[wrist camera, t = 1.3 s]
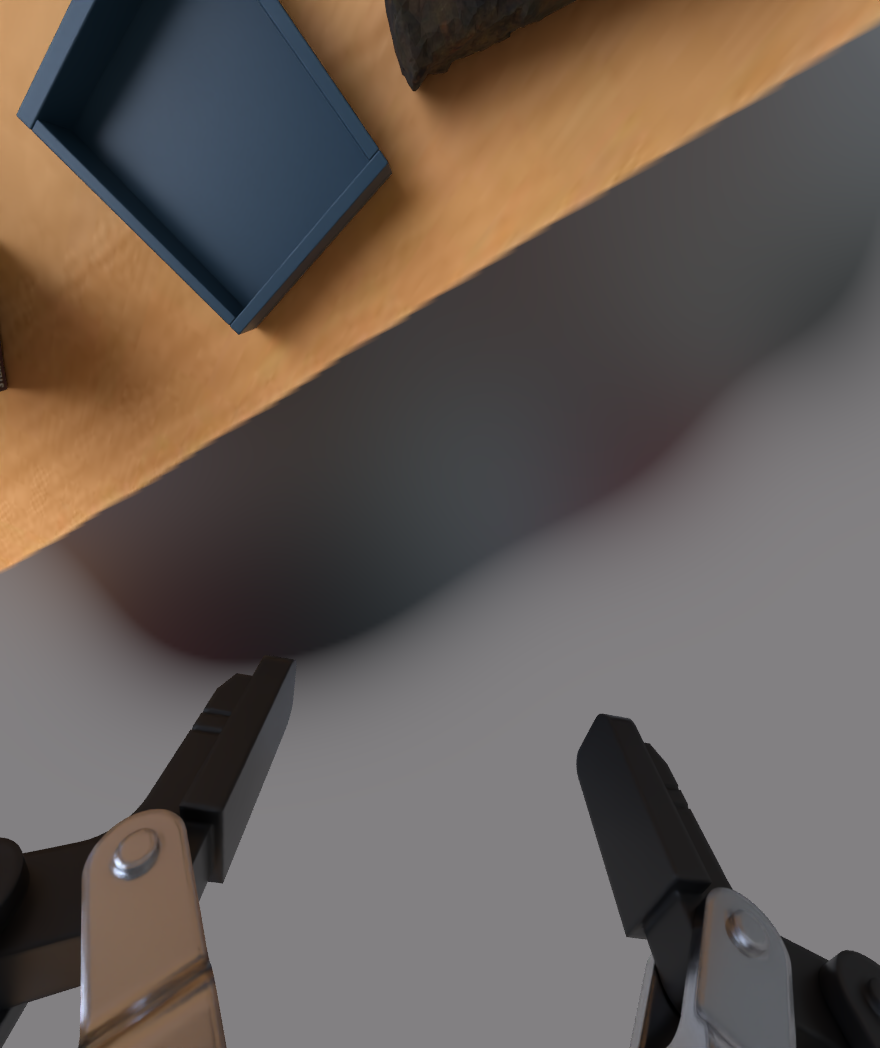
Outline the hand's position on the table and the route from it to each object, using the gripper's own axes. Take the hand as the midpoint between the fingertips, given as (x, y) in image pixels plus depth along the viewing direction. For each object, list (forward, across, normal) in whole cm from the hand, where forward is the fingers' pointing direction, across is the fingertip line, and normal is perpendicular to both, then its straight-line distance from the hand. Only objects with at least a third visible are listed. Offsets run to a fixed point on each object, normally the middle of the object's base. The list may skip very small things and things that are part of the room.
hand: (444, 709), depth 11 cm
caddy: (+22, +16, -15) cm, 31 cm away
